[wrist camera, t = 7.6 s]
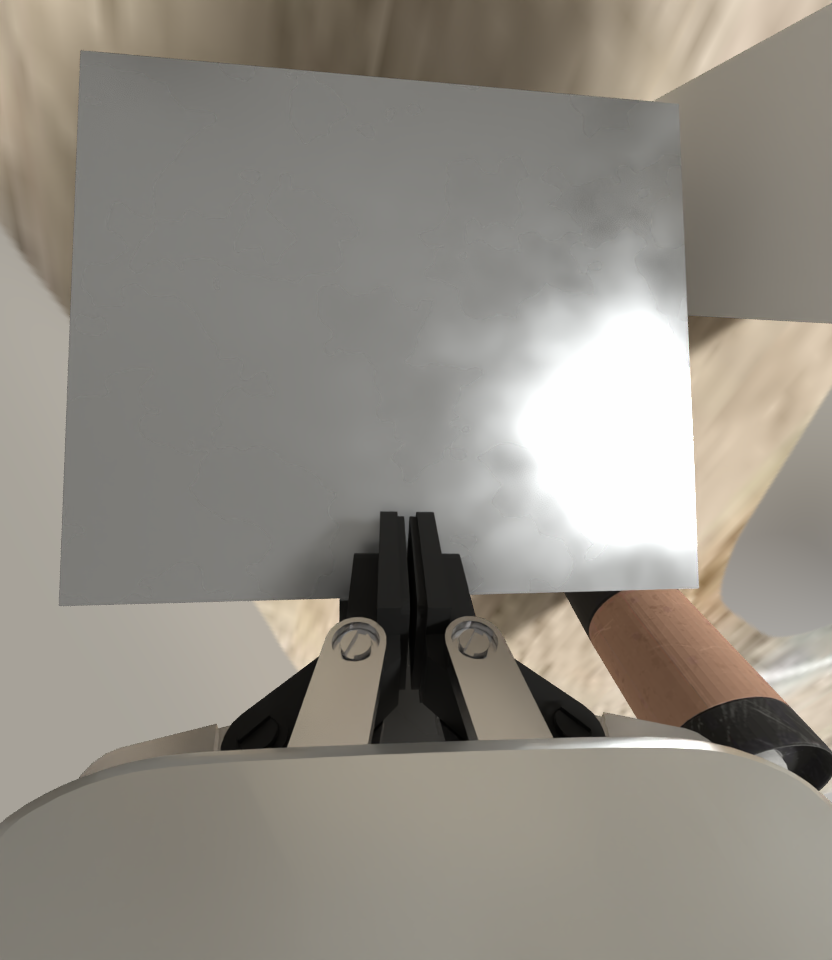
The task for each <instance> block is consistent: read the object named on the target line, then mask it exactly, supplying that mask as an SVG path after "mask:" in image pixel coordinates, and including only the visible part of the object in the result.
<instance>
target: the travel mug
mask: <svg viewBox="0 0 832 960" xmlns="http://www.w3.org/2000/svg"><path fill="white" fill-rule="evenodd" d="M564 593H565V595H566V597H567V598H568V600H569V602H570V604H571V606H572V608H573V609H574V611H575V613H576V615H577V617H578V619H579V621H580V622H581V624H582V626H583V628H584V630H585V632H586V633H587V635H588V637H589V639H590V641H591V643H592V644H593V646H594V648H595V649H596V651H597V653H598V654H599V656H600V658H601V659H602V661H603V663H604V664H605V666H606V668H607V669H608V671H609V673H610V674H611V676H612V678H613V679H614V681H615V683H616V684H617V686H618V688H619V689H620V691H621V693H622V694H623V696H624V698H625V699H626V701H627V703H628V704H629V706H630V708H631V709H632V711H633V713H634V714H635V716H636V717H637V719H640V720H645V721H650V722H655V723H660V724H665V725H670V726H676V727H681V728H686V729H688V730H691V731H694V732H697V733H699V734H700V735H702V736H703V737H705V738H706V739H708V740H710V741H711V742H712V743H715V744H719V745H723V746H728V747H732V748H735V749H738V750H741V751H744V752H747V753H750V754H753V755H755V756H758V757H761V758H763V759H766V760H768V761H770V762H773V763H775V764H777V765H779V766H781V767H783V768H785V769H787V770H789V771H791V772H793V773H794V774H796V775H798V776H799V777H801V778H802V779H804V780H805V781H807V782H808V783H810V784H811V785H812V786H813V787H814V788H816V789H817V790H818V791H820V790H821V789H822V788H823V787H824V786H825V785H826V784H827V783H828V781H829V780H830V779H831V777H832V751H831V750H830V749H829V748H828V746H827V745H826V744H825V743H824V742H823V741H822V740H821V739H820V738H819V737H818V736H817V735H816V734H815V733H814V732H813V730H812V729H811V728H810V727H809V726H808V725H807V724H806V723H805V722H804V721H803V720H802V719H801V718H800V717H799V716H798V715H797V714H796V713H795V712H794V710H793V709H792V708H791V707H790V706H789V705H788V704H787V703H786V702H785V701H784V700H783V699H782V698H781V697H780V696H779V695H778V694H777V693H776V692H775V690H774V689H773V688H772V687H771V686H770V685H769V684H768V683H767V682H766V681H765V680H764V679H763V678H762V677H761V676H760V675H759V674H758V673H757V672H756V670H755V669H754V668H753V667H752V666H751V665H750V664H749V663H748V662H747V661H746V660H745V659H744V658H743V657H742V656H741V655H740V654H739V653H738V652H737V650H736V649H735V648H734V647H733V646H732V645H731V644H730V643H729V642H728V641H727V640H726V639H725V638H724V637H723V636H722V635H721V634H720V633H719V632H718V630H717V629H716V628H715V627H714V626H713V625H712V624H711V623H710V622H709V621H708V620H707V619H706V618H705V617H704V616H703V615H702V614H701V613H700V611H699V610H698V609H697V608H696V607H695V606H694V605H693V604H692V603H691V602H690V601H689V600H688V599H687V598H686V597H685V596H684V595H683V594H682V593H681V592H680V591H679V590H678V589H658V590H621V591H585V592H564Z"/></svg>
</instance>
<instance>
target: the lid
mask: <svg viewBox="0 0 832 960" xmlns="http://www.w3.org/2000/svg"><path fill="white" fill-rule="evenodd" d="M66 412H67V413H66V438H65V463H64V490H63V515H62V540H61V565H60V591H59V606H75V605H114V604H147V603H149V604H150V603H185V602H220V601H221V602H222V601H259V600H295V599H331V598H340V620H339V622H341V621H343V620H345V619H346V616H347V608H348V599H349V591H350V582H351V573H352V565H353V557H354V553H379V532H380V511H395V512H397V513H398V516H404V520H405V535H406V550H408V531H409V517H410V516H416V512H434V515H435V520H436V526H437V531H438V536H439V542H440V547H441V552H442V553H447V554H459V555H460V557H461V561H462V565H463V569H464V573H465V577H466V581H467V585H468V589H469V593H470V595H476V594H512V593H549V592H585V591H621V590H658V589H694V588H699V580H698V556H697V532H696V507H695V483H694V459H693V435H692V411H691V387H690V363H689V339H688V314H687V290H686V266H685V242H684V218H683V194H682V170H681V146H680V121H679V104H673V103H662V102H651V101H640V100H628V99H617V98H606V97H595V96H584V95H573V94H562V93H550V92H539V91H528V90H517V89H506V88H495V87H483V86H472V85H461V84H450V83H439V82H428V81H417V80H405V79H394V78H383V77H372V76H361V75H350V74H338V73H327V72H316V71H305V70H294V69H283V68H272V67H260V66H249V65H238V64H227V63H216V62H205V61H193V60H182V59H171V58H160V57H149V56H138V55H127V54H115V53H104V52H93V51H82V50H81V54H80V79H79V105H78V130H77V156H76V181H75V207H74V233H73V258H72V284H71V309H70V336H69V360H68V386H67V411H66ZM418 742H440V740H439V736H438V732H437V728H436V723H435V714H434V713H433V712H432V711H431V710H429V709H428V708H427V707H426V706H425V705H424V704H423V703H420V702H419V690H411V678H410V660H409V642H408V653H407V669H406V685H405V690H399V700H398V706H397V707H396V708H395V709H394V710H393V711H392V712H391V713H390V714H389V715H388V716H387V717H386V718H385V719H384V730H383V736H382V743H381V744H390V743H418Z"/></svg>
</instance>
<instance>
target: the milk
mask: <svg viewBox="0 0 832 960" xmlns="http://www.w3.org/2000/svg"><path fill="white" fill-rule="evenodd" d="M652 102H662V103H673V104H679V121H680V146H681V170H682V194H683V218H684V242H685V266H686V290H687V314H688V316H705V317H723V318H741V319H759V320H777V321H795V322H813V323H831V324H832V3H831V4H829V5H827V6H825V7H824V8H822V9H820V10H818V11H816V12H815V13H813V14H811V15H809V16H807V17H805V18H804V19H802V20H800V21H798V22H796V23H794V24H793V25H791V26H789V27H787V28H785V29H784V30H782V31H780V32H778V33H776V34H774V35H773V36H771V37H769V38H767V39H765V40H764V41H762V42H760V43H758V44H756V45H754V46H753V47H751V48H749V49H747V50H745V51H743V52H742V53H740V54H738V55H736V56H734V57H733V58H731V59H729V60H727V61H725V62H723V63H722V64H720V65H718V66H716V67H714V68H712V69H711V70H709V71H707V72H705V73H703V74H702V75H700V76H698V77H696V78H694V79H692V80H691V81H689V82H687V83H685V84H683V85H681V86H680V87H678V88H676V89H674V90H672V91H671V92H669V93H667V94H665V95H663V96H661V97H660V98H658V99H656V100H654V101H652Z"/></svg>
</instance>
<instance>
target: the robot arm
mask: <svg viewBox="0 0 832 960" xmlns="http://www.w3.org/2000/svg"><path fill="white" fill-rule="evenodd" d="M408 642H409V660H410V678H411V690H419V702H420V703H423V704H424V705H425V706H426V707H427V708H428V709H429V710H431V711H432V712H433V713H434V714H435V723H436V728H437V732H438V736H439V740H440V742H418V743H390V744H381V743H382V736H383V730H384V719H385V718H386V717H387V716H388V715H389V714H390V713H391V712H392V711H393V710H394V709H395V708H396V707H397V706H398V700H399V690H405V685H406V669H407V653H408ZM0 960H832V802H830V801H829V800H828V799H827V798H826V797H825V796H824V795H823V794H822V793H820V792H819V791H818V790H817V789H816V788H814V787H813V786H812V785H811V784H810V783H808V782H807V781H805V780H804V779H802V778H801V777H799V776H798V775H796V774H794V773H793V772H791V771H789V770H787V769H785V768H783V767H781V766H779V765H777V764H775V763H773V762H770V761H768V760H766V759H763V758H761V757H758V756H755V755H753V754H750V753H747V752H744V751H741V750H738V749H735V748H732V747H728V746H723V745H719V744H715V743H712V742H711V741H710V740H708V739H706V738H705V737H703V736H702V735H700V734H699V733H697V732H694V731H691V730H688V729H686V728H681V727H676V726H670V725H665V724H660V723H655V722H650V721H645V720H640V719H635V718H630V717H625V716H620V715H615V714H610V713H605V712H603V715H602V717H601V716H596V715H594V714H593V713H592V712H591V711H590V710H589V709H587V708H586V707H585V706H584V705H583V704H581V703H580V702H578V701H577V700H575V699H574V698H572V697H571V696H569V695H568V694H566V693H565V692H563V691H562V690H560V689H559V688H557V687H556V686H554V685H553V684H551V683H550V682H548V681H547V680H545V679H544V678H542V677H541V676H539V675H538V674H536V673H535V672H534V671H532V670H531V669H529V668H528V667H526V666H525V665H523V664H522V663H520V662H519V661H517V660H516V659H514V657H513V655H512V653H511V651H510V649H509V647H508V645H507V643H506V641H505V639H504V637H503V635H502V633H501V632H500V631H499V629H498V628H497V627H496V626H495V625H494V624H492V623H491V622H489V621H487V620H485V619H483V618H479V617H475V613H474V609H473V605H472V601H471V597H470V593H469V589H468V585H467V581H466V577H465V573H464V569H463V565H462V561H461V557H460V555H459V554H447V553H442V552H441V547H440V542H439V536H438V531H437V526H436V520H435V515H434V512H416V516H410V517H409V531H408V550H406V535H405V520H404V516H398V513H397V512H395V511H380V532H379V553H354V557H353V565H352V573H351V582H350V591H349V599H348V608H347V616H346V619H345V620H343V621H341V622H339V623H337V624H336V625H335V626H334V627H333V628H332V629H330V631H329V633H328V634H327V636H326V638H325V641H324V644H323V647H322V650H321V653H320V655H319V657H317V658H316V659H315V660H313V661H312V662H311V663H309V664H308V665H307V666H305V667H304V668H303V669H301V670H300V671H299V672H297V673H296V674H295V675H293V676H292V677H291V678H289V679H288V680H287V681H285V682H284V683H283V684H281V685H280V686H279V687H277V688H276V689H275V690H273V691H272V692H271V693H269V694H268V695H267V696H265V698H263V699H261V700H260V701H259V702H257V703H256V704H255V705H253V706H252V707H251V708H249V709H248V710H247V711H246V712H244V713H243V714H242V715H240V716H239V717H238V718H237V719H236V720H235V721H234V722H233V723H232V724H231V725H230V726H226V727H222V728H218V727H217V724H214V725H210V726H206V727H202V728H198V729H194V730H190V731H186V732H182V733H178V734H173V735H169V736H165V737H161V738H157V739H153V740H149V741H145V742H141V743H137V744H133V745H130V746H125V747H121V748H119V749H116V750H114V751H111V752H109V753H106V754H105V755H103V756H102V757H100V758H99V759H97V760H96V761H95V762H93V763H92V764H91V765H90V766H89V767H88V768H87V769H86V770H85V771H84V773H82V775H81V776H80V777H79V779H77V780H74V781H72V782H70V783H67V784H65V785H63V786H60V787H58V788H56V789H54V790H52V791H50V792H48V793H46V794H44V795H42V796H40V797H38V798H37V799H35V800H33V801H31V802H30V803H28V804H26V805H24V806H23V807H22V808H20V809H19V810H17V811H16V812H14V813H13V814H11V815H10V816H9V817H7V818H6V819H5V820H4V821H3V822H1V823H0Z"/></svg>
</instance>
